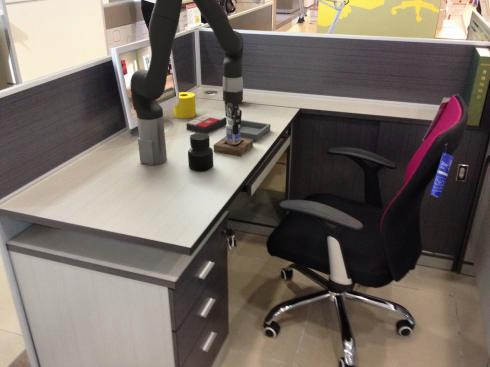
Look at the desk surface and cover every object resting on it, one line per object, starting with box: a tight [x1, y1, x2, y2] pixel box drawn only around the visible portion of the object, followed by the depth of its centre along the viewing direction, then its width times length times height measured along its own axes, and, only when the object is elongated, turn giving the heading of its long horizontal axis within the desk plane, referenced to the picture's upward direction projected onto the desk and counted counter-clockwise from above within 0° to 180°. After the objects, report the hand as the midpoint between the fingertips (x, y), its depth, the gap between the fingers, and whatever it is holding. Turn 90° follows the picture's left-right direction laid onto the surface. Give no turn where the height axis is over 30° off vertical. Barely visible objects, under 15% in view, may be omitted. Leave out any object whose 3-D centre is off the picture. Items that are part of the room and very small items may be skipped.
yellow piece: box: [173, 91, 197, 119], centre depth 222 cm, size 10×10×9 cm
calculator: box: [185, 112, 228, 135], centre depth 208 cm, size 11×4×15 cm
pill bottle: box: [225, 117, 240, 145], centre depth 182 cm, size 5×5×10 cm
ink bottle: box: [187, 132, 214, 173], centre depth 168 cm, size 10×9×12 cm
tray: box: [240, 119, 271, 143], centre depth 200 cm, size 14×14×3 cm
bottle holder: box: [213, 135, 254, 158], centre depth 185 cm, size 12×12×3 cm
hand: (233, 131), depth 182 cm, fingers closed on pill bottle, 5 cm apart
